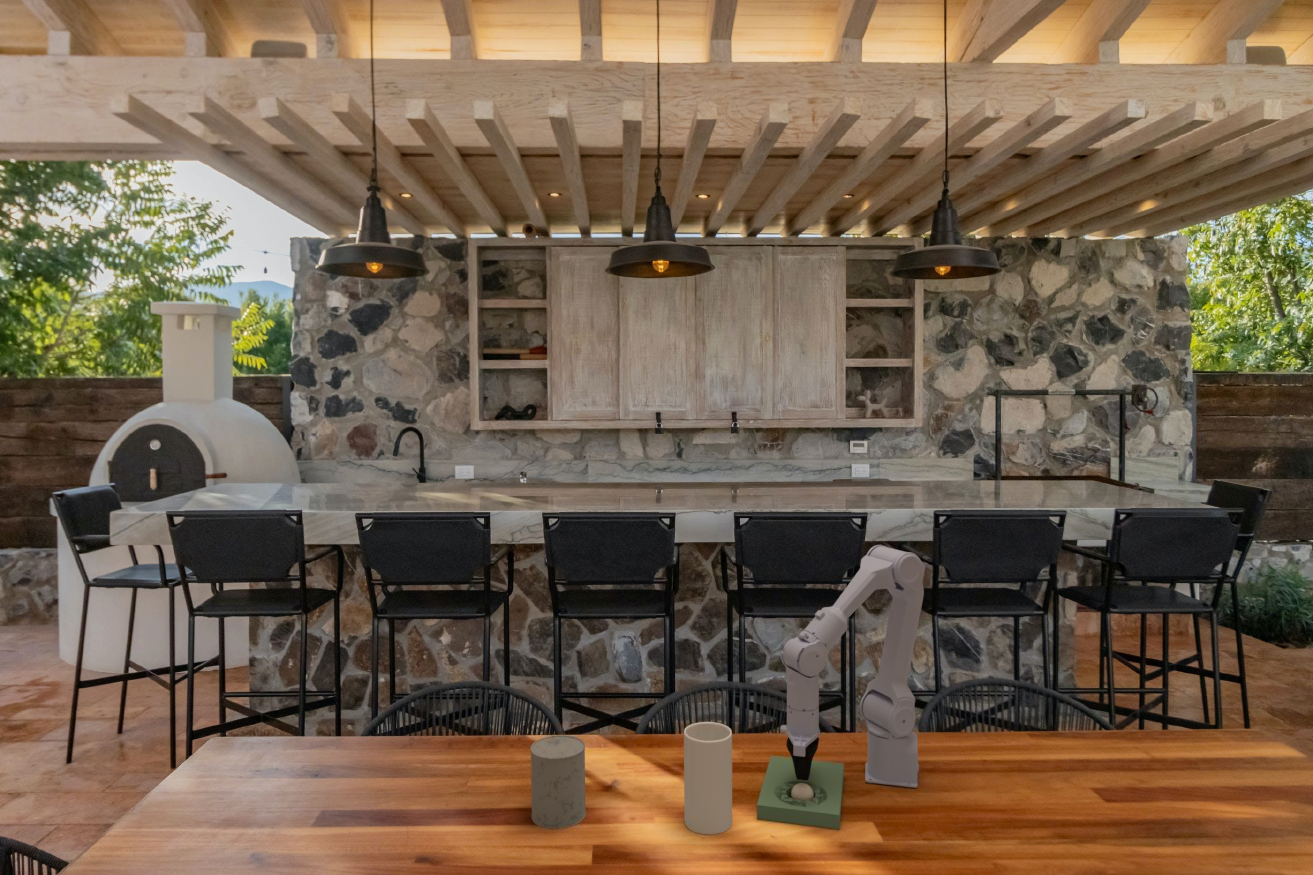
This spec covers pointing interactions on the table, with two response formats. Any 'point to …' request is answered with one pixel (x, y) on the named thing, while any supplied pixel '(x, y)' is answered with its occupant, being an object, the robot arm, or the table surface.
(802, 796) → the ball
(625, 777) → the table surface
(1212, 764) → the table surface
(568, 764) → the grey marble cylinder
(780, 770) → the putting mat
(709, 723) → the cup
